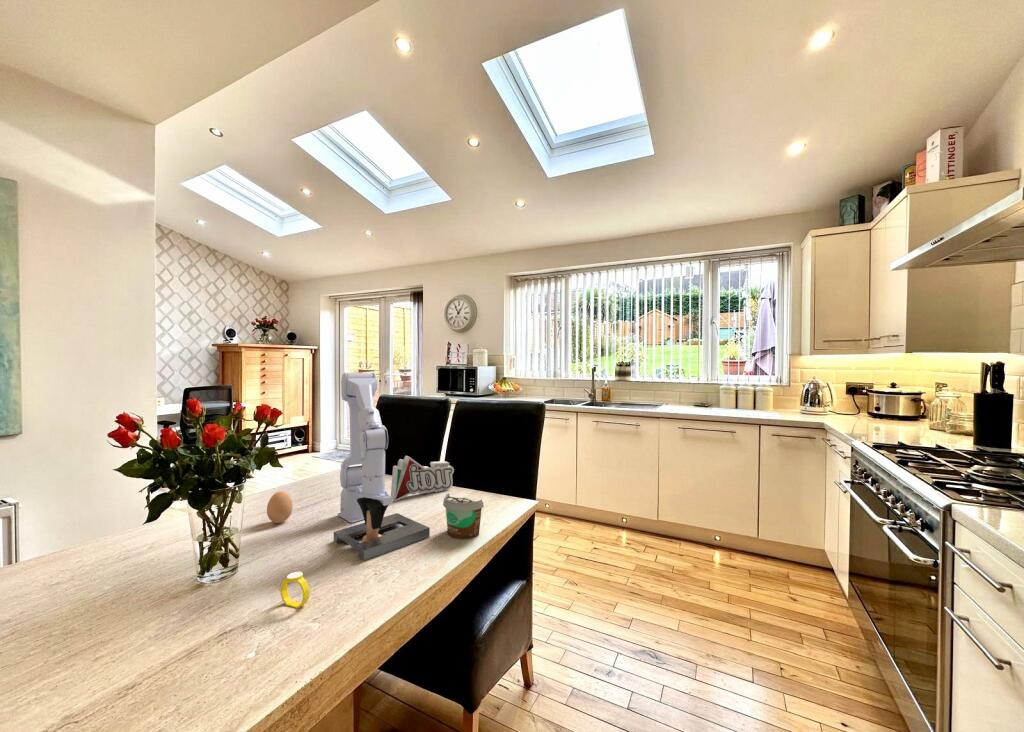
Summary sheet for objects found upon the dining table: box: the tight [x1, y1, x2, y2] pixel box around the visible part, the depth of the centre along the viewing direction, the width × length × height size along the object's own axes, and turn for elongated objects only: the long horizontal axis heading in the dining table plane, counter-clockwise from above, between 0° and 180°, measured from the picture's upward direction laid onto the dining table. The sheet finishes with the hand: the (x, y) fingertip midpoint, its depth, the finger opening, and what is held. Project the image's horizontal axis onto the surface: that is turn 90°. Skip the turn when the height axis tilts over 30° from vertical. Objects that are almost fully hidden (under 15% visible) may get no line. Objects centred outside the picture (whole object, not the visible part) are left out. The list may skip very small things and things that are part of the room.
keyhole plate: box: [333, 513, 431, 562], centre depth 110 cm, size 16×19×2 cm
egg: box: [266, 490, 294, 524], centre depth 120 cm, size 7×7×9 cm
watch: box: [279, 571, 311, 609], centre depth 79 cm, size 6×3×6 cm, turn 71°
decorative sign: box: [390, 455, 455, 502], centre depth 149 cm, size 23×3×15 cm, turn 130°
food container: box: [442, 492, 485, 540], centre depth 113 cm, size 12×6×10 cm, turn 62°
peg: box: [361, 510, 383, 543], centre depth 108 cm, size 5×5×8 cm
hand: (373, 526), depth 108 cm, fingers closed on peg, 3 cm apart
